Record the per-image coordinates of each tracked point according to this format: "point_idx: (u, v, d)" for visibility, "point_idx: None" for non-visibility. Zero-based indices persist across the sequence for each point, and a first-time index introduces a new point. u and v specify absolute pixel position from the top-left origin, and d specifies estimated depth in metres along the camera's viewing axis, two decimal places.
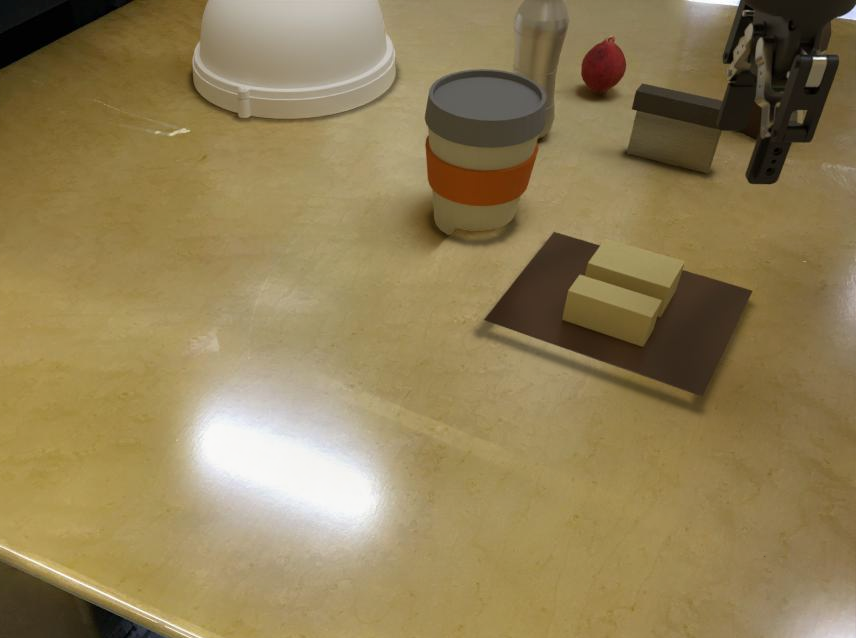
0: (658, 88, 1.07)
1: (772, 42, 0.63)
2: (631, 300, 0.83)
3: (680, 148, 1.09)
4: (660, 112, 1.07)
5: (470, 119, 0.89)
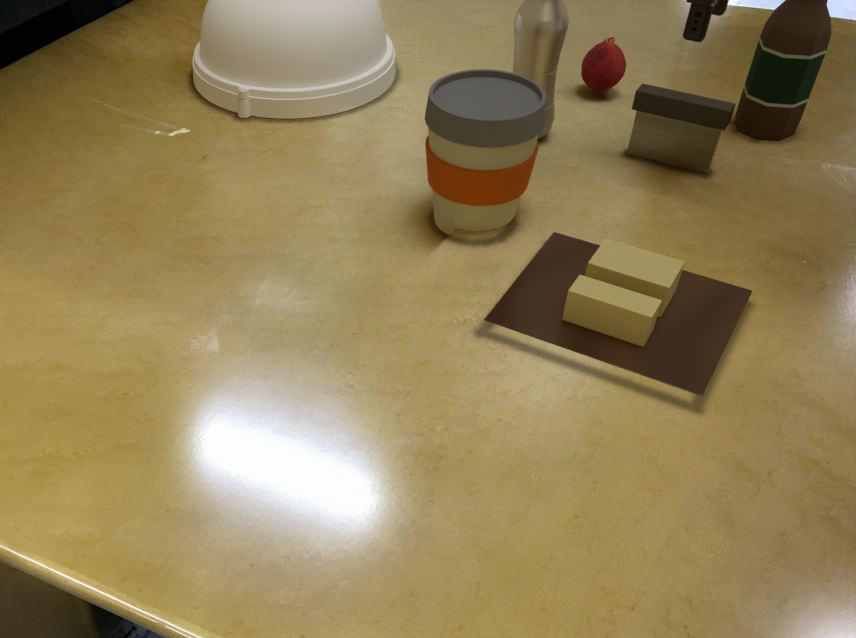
0: (658, 88, 1.07)
1: None
2: (631, 300, 0.83)
3: (680, 148, 1.09)
4: (660, 112, 1.07)
5: (470, 119, 0.89)
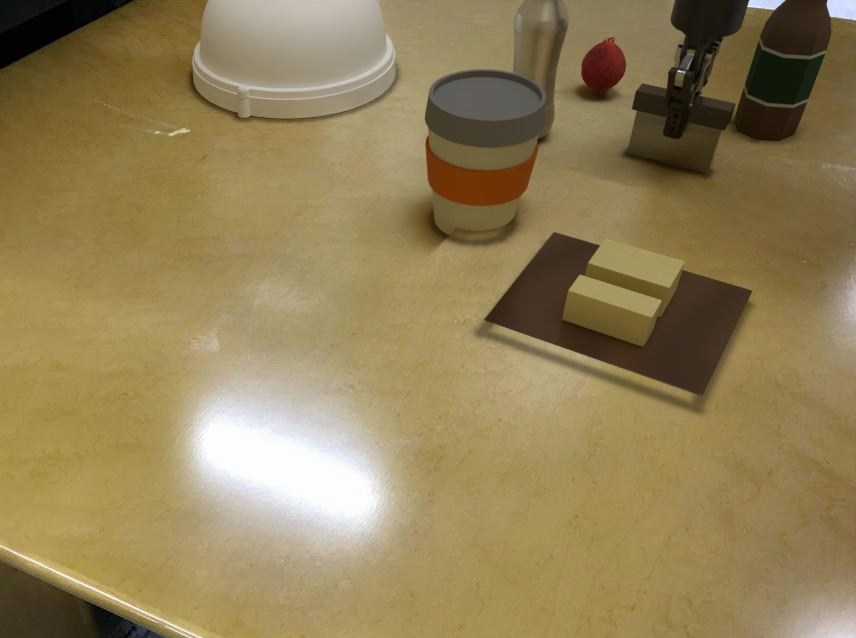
0: (658, 88, 1.07)
1: None
2: (631, 300, 0.83)
3: (680, 148, 1.09)
4: (661, 112, 1.07)
5: (470, 119, 0.89)
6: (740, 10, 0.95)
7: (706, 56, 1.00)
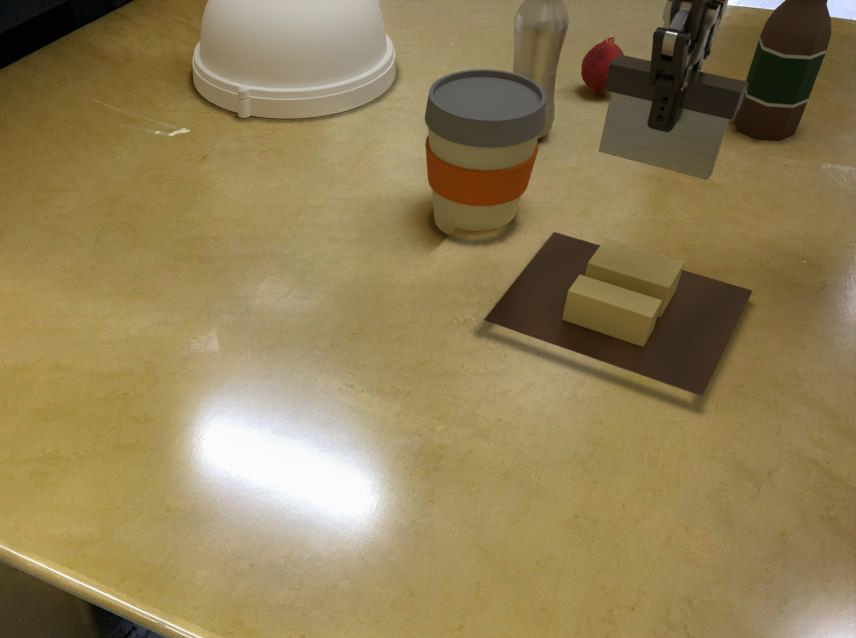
0: (641, 61, 0.77)
1: None
2: (631, 300, 0.83)
3: (670, 144, 0.79)
4: (644, 93, 0.77)
5: (470, 119, 0.89)
6: None
7: (708, 13, 0.70)
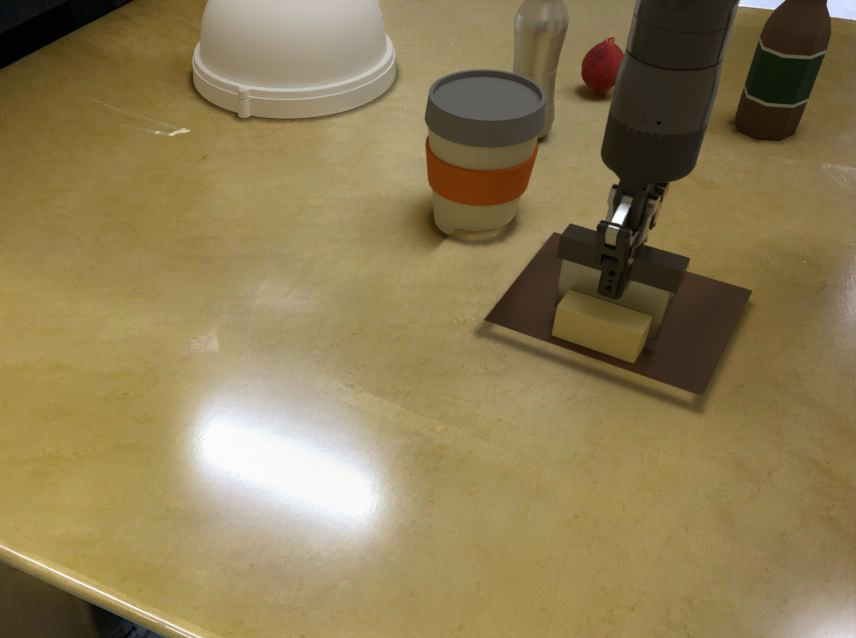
0: (590, 231, 0.81)
1: None
2: (621, 316, 0.81)
3: None
4: (593, 263, 0.81)
5: (470, 119, 0.89)
6: (691, 149, 0.69)
7: (649, 203, 0.74)
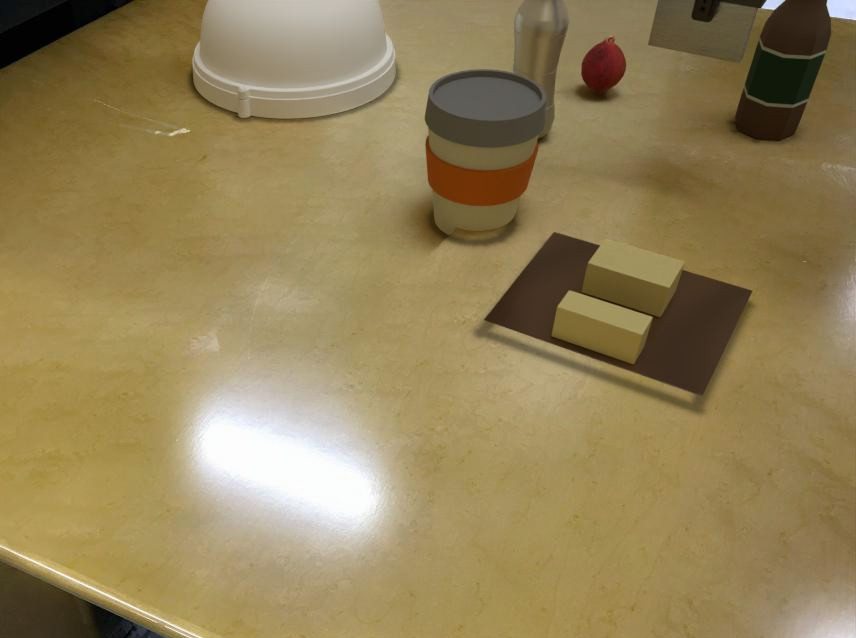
0: None
1: None
2: (621, 317, 0.81)
3: (709, 34, 0.96)
4: None
5: (470, 119, 0.89)
6: None
7: None
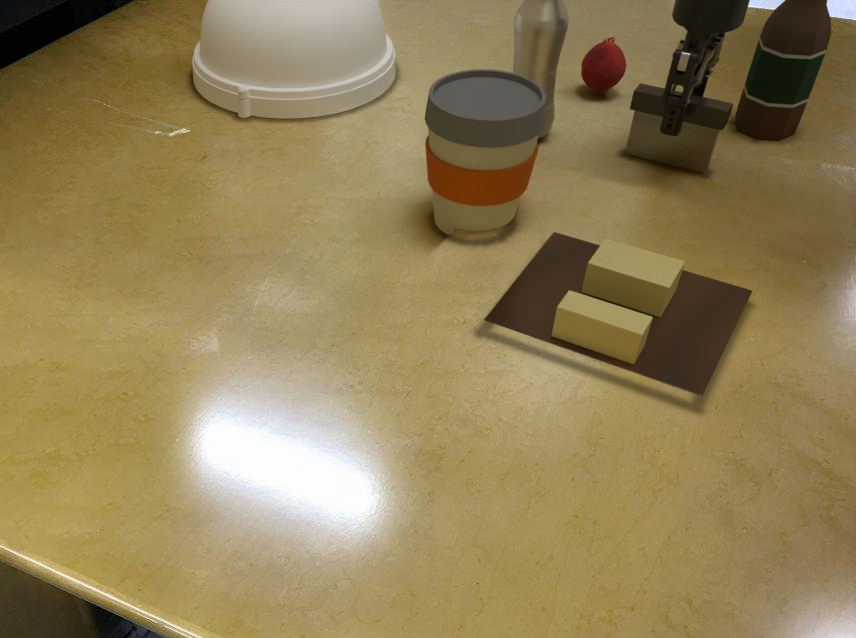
0: (656, 88, 1.07)
1: None
2: (621, 317, 0.81)
3: (678, 148, 1.09)
4: (658, 112, 1.07)
5: (470, 119, 0.89)
6: (741, 5, 0.95)
7: (708, 52, 0.99)
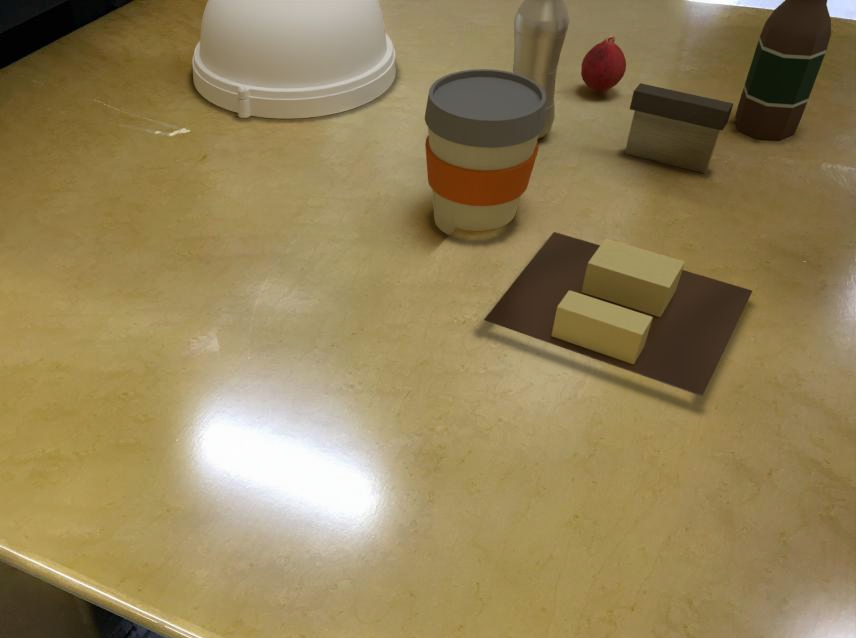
0: (656, 88, 1.07)
1: None
2: (621, 317, 0.81)
3: (678, 148, 1.09)
4: (658, 112, 1.07)
5: (470, 119, 0.89)
6: None
7: None
